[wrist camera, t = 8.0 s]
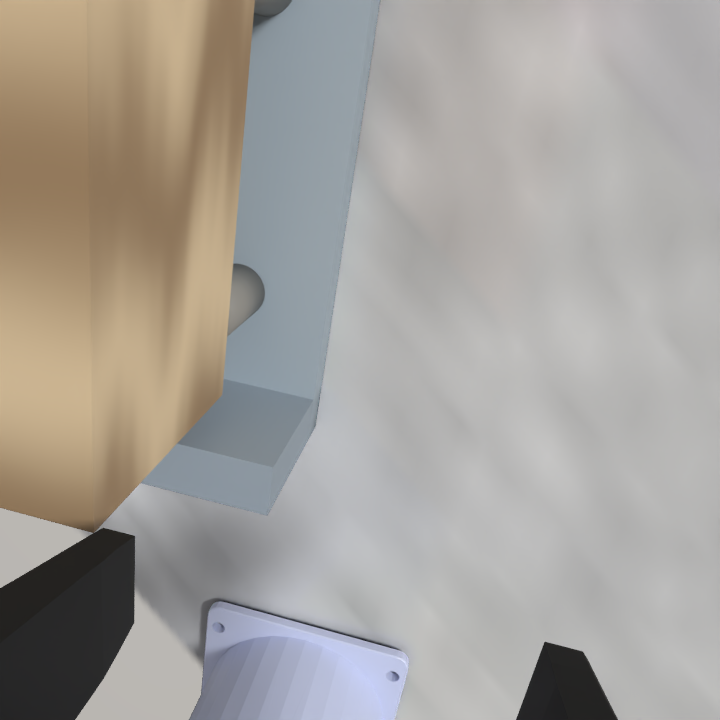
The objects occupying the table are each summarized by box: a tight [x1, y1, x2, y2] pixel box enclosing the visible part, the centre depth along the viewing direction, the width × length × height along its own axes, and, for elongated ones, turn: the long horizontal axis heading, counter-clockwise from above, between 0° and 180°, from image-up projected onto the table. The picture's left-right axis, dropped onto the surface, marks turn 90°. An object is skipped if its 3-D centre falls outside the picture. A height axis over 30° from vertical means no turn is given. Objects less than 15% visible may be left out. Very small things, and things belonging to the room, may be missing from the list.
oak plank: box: [0, 0, 255, 533], centre depth 12 cm, size 12×4×6 cm, turn 171°
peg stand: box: [141, 0, 380, 515], centre depth 15 cm, size 17×8×5 cm, turn 171°
